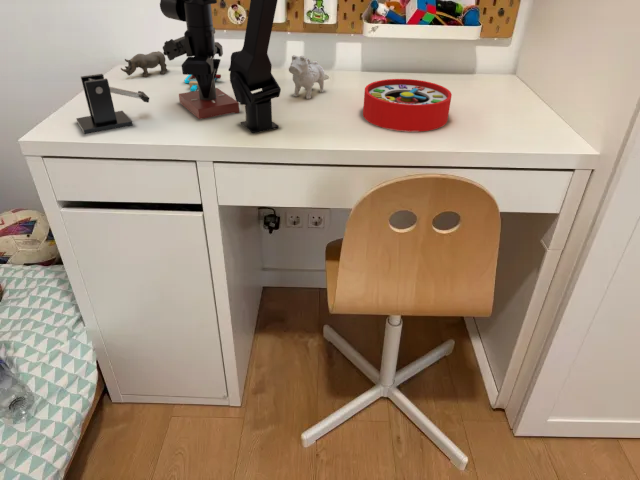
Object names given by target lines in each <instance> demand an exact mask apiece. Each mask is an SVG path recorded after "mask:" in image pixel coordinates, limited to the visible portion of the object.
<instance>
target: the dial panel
mask: <svg viewBox="0 0 640 480" xmlns="http://www.w3.org/2000/svg"><path fill="white" fill-rule="evenodd" d="M178 98H179V104H181V106H183V107H184V108H185V109H187V110H188V111H189V112H190V113H191V114H192V115H194V116H195V117H196V118H197V119H198V120H202V119H207V118H213V117H218V116H224V115H229V114H239V113H240V102H237V101H236V99H235V98H233V97H231V96H230V95H229V94H227V93H226V92H225V91H223V90H221V89H220V88H218V87H216V99H213V100H201V99H200V98H199V90H195V91H188V92H180V93H178Z"/></svg>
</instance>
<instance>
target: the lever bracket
mask: <svg viewBox="0 0 640 480" xmlns="http://www.w3.org/2000/svg"><path fill="white" fill-rule="evenodd" d="M89 78H90V79H95V80H91V81H88V80H89ZM80 80H81V81H80V82H81V85H82V88H83V93H84V96H85V99H86V104H87V108H88V111H89V115H87V116H81V117H76V119H75V120H76V122H77V124H78V127H79V128H80V129H81V130H82V132H83V134H84V135H88V134H95V133H99V132H105V131H110V130H117V129H122V128H126V127H132V126H133V121H132V120H131V118H130V117H129V116H128V115H127V114H126V113H125V112H124V110H118V111H116V110H115V106H114V102H113V97H112V93H111V92H110V88H109V87H110V83H109V80H108V78H105V76H104V74H103V73H97V74H89V75H83V76H82V75H81V76H80Z"/></svg>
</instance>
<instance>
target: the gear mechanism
mask: <svg viewBox="0 0 640 480" xmlns="http://www.w3.org/2000/svg"><path fill="white" fill-rule="evenodd" d="M221 77H222V74H220V73H219V74H216V78H215V81H216V80H217V79H221ZM184 83H185V84H189V85H188V86H189V90H190V91H189V92H193V91H197V90H198V82H197V80H196V78H195V77H194V76H193V75H187V77H186V78H185V79H184Z"/></svg>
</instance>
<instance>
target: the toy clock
mask: <svg viewBox="0 0 640 480" xmlns="http://www.w3.org/2000/svg"><path fill="white" fill-rule="evenodd" d="M452 96H453V95H452V92H451V91H450V90H449V89H448V88H447V87H445V86H442V85H440V84H437V83H434V82H430V81H426V80H420V79H411V78H387V79H382V80H376V81H373V82H370V83H369V84H367V85H366V86H365V87H364V94H363V108H362V116H363V118H364V119H365V121H367V122H368V123H370V124H372V125H374V126H376V127H378V128H383V129H387V130H391V131H397V132H406V133H407V132H409V133H412V132H413V133H416V132H428V131H433V130H437V129H441V128H442V127H444V126H445V125H447V123H448V121H449V115H450V114H449V113H450V108H451V101H452Z"/></svg>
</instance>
